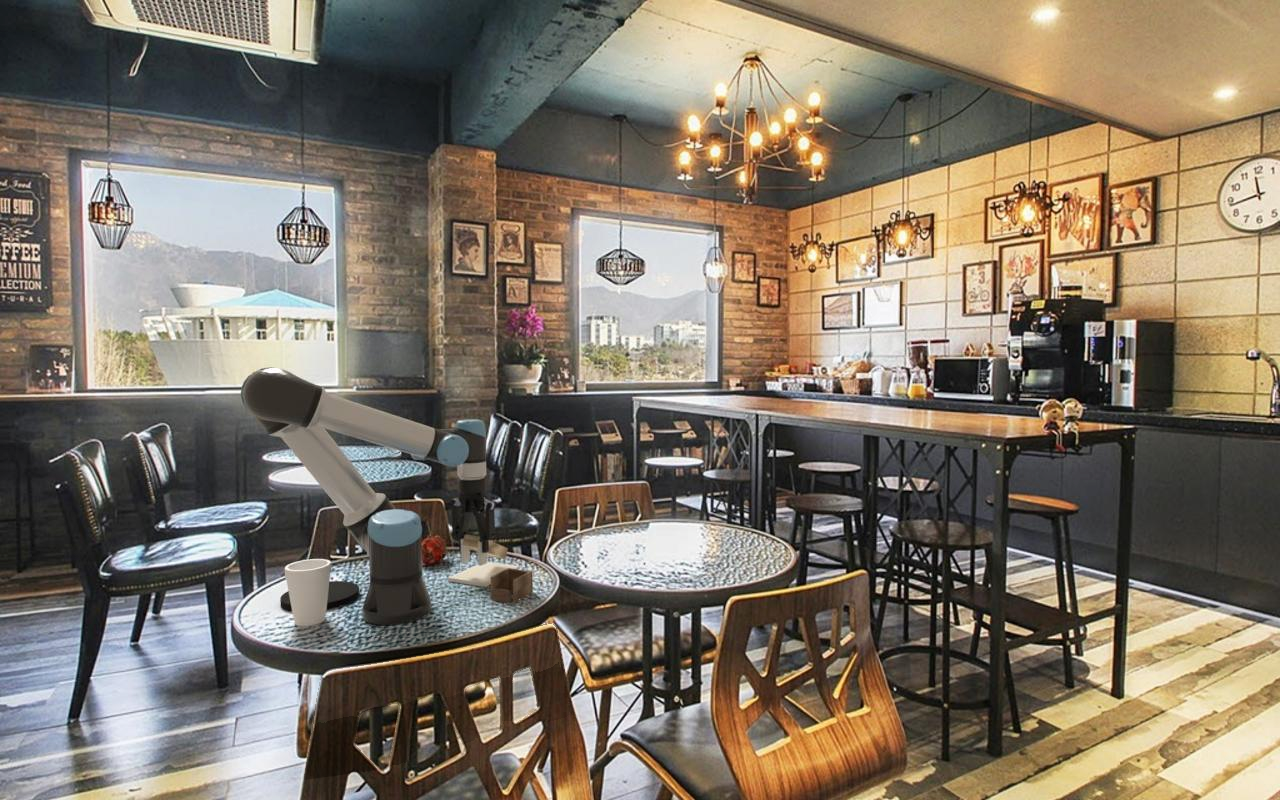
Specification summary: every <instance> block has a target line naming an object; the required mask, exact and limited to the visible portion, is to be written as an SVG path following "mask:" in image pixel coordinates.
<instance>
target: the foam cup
mask: <svg viewBox="0 0 1280 800" xmlns="http://www.w3.org/2000/svg"><path fill="white" fill-rule="evenodd" d="M331 573H332V562H331V560H329V559H325V558H312V559H302V560H299V561H294V562H292V563H289V564H287V565H286V566H285V567H284V579H285V580H286V585H287V592H288V591H289V597H290V602H291V607H292V612H291V613H292V616H293V617H292V618H293V621H294V625H295V626H298V627H309V626H315V625H318V624H320V623H323V622H325V620H326V616H327V610H326V609H327V600H328V590H329V581H330V580H331V579H330V578H331Z"/></svg>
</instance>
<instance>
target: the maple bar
mask: <svg viewBox="0 0 1280 800" xmlns="http://www.w3.org/2000/svg"><path fill="white" fill-rule="evenodd" d="M479 540H481V539H480V535H471V534H469V535H465V537H464V540H463V544H462V546H464V547H467V548H469V549H470V550H473V551H475V552H477V553H478V541H479ZM508 550H509V548H507V547H505V546H503V545H501V544H499V543H496V542H494V541H492V540H491V539H489V551H488V552H487V557H489V558H495V559H504V560H506V558H507V554H508Z"/></svg>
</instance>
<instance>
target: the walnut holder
mask: <svg viewBox="0 0 1280 800" xmlns="http://www.w3.org/2000/svg"><path fill="white" fill-rule="evenodd" d="M533 586H534V585H533V571H531V570H525V569H520V570H519V569H512V568H508V569H506V570H504V571H502V572H500V573H498V574H495V575H493V576H491V584H490V598H491V599H492V601H494V602H501V603H506V602H508V603H507V604H510V603H511V590H513V591H512V601H513V603H517V602H519V601H520V600H519V599H521V598H522V599H524V598H525V597H524V596H526V595H528V594H529V595H531V594H533V593H532V592H533V591H534V588H533ZM530 593H531V594H530ZM529 595H528V596H529ZM523 597H524V598H523ZM526 597H527V596H526ZM522 599H521V600H522ZM518 600H519V601H518ZM516 601H517V602H516Z"/></svg>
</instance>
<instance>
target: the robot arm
mask: <svg viewBox="0 0 1280 800" xmlns="http://www.w3.org/2000/svg"><path fill="white" fill-rule="evenodd" d="M240 398H241V402H242V404H243V406H244V407H245V409H247V411H248V412H250V413H251V414H252V415H253V416H254V418H255V420H257V421H258V423H259V424H260V425H261V427H262V428H263V429H264V431H266V432H267V434H268V435H269V436H271V437H279V438H281V439H282V440H283V442H284V443H285V444H286V446H287V447H288V448H289V449H290V450H291V451H292V453H293V454H294V455H295V456H296V458H297V460H299V461H300V463H301V464H302V465H303V466H304V467H305V468H306V470H307V471H308V472H309V473H310V474H311V476H312V478H314V480H316V482H317V483H318V484H319V486H320V487H321V488H322V490H323V491H324V492H325V493H326V494H327V495H328V497H329V498H330V499H331V500H332V502H333V503H334V504H335V505H336V507H337V508H338V509H339V511H341V513H342V514H343V515H344V516H343V521H342V524H343V526H344V527H345V528H346V529H347V531H348V532H349V533H350V535H352V537H353V538H354V540H355V541H356V543H357V544H358V545H359V547H360V548H361V549H363V550H364V551H365V552H366V553H367V555H368V557H369V559H368V561H369V562H368V564H369V586H368V590H367V593H366V595H365V600H364V602H363V606H362V618H363V621H365V622H366V623H368V624H373V625H381V626H386V625H387V626H389V625H400V624H404V623H409V622H410V623H411V622H413V621H417V620H419V619H422V618H424V617H426V616H427V615H428V614H430V612H431V611H432V599H431V596H430V594H429V591H428V588H427V586H426V583H425V580H424V575H423V562H422V540H423V539H422V536H423V535H422V533H423V526H422V522H421V521H422V520H421V517H420V516H419V514H418V513H416V512H414V511H412V510H407V509H400V508H399V509H398V508H397V509H396V507H395V506H394V505H393V503H392V502H391V501H390V499H389V498H388V497H387V495H386V494H384V493H381V492H375V490H374V489H373V488H372V487H371V486H370V484H369V483H368V482H367V480H366V479H365V478H364V477H363V475H361V472H359V470H358V469H357V468H356V467H355V466H354V464H353V463H352V462H351V460H350V459H349V458H348V456H347V455H346V454H345V453H344V452H343V450H342V448H340V446H339V445H338V444H337V442H336V441H335V440H334V439H333V437H332V436H331V435H330V434H329V433H328V432H327V430H328V431H331V432H335V433H338V434H342V435H345V436H349V437H351V438H356V439H359V440H362V441H364V442H369V443H372V444H375V445H378V446H382V447H386V448H389V449H393V450H396V451H399V452H403V453H406V454H410V456H411V458H412V459H413V460H415V461H417V460H418V461H427V460H429V461H432V462H436V463H439V464H442V465H444V466H447V467H456V469H457V470H456V471H457V472H456V473H457V474H456V475H457V477H458V479H457V492H458V493H459V495H458V497H456V498H451V499H449V503H450V507H451V531H452V532H451V534H452V535H453V536H455V537H457V538H458V549H459V551H460V562H461V563H460V564H465V563H467V562H470V561H471V549H469V548H467V547H464V546H462V544H463V540H464V537H465V535H470V534H469V533H468V532H469V531H468V530H469V527H470V520H471V515H472V514H473V516H474V517H475V522H476V527H477V530H478V534H479V535H478V536H480V539H481V540H479V541H478V552H477V554H478V557H477V558H478V562H477V564H479V566H482V565H484V564H486V563H487V562H488V556H487V552H488V551H489V540H492V539H494V538H496V523H495V522H496V521H495V520H496V519H495V509H496V505H497V502H496V501H491V500H489V499H488V497H487V491H488V488H487V487H488V486H487V485H488V483H487V482H488V481H487V480H488V478H486V476H487V431H486V424H485V421H484V420H482V419H473V418H472V419H460V420H458V421H456V425H455V427H454V428H444V429H441V428H440V429H438V428H434V427H431V426H429V425H426V424H423V423H419V422H416V421H413V420H410V419H407V418H404V417H401V416H399V415H394V414H392V413H389V412H386V411H383V410H379V409H377V408H373V407H370V406H368V405H364V404H361V403H358V402H355V401H352V400H348V399H346V398H344V397H340V396H337V395H333V394H330V393H327V391H326V389H325V388H324V386H320V385H317V384H315V383H312V382H310V381H308V380H306V379H303V378H301V377H299V376H297V375H296V374H294V373H292V372H290V371H288V370H285V369H282V368H278V367H272V366H271V367H263V368H260V369H257V370H256V371H253V372H252V373H251V374H249V375H248V376H247V377H246V378H245V380H244V381H243V382H242V385H241V388H240Z"/></svg>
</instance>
